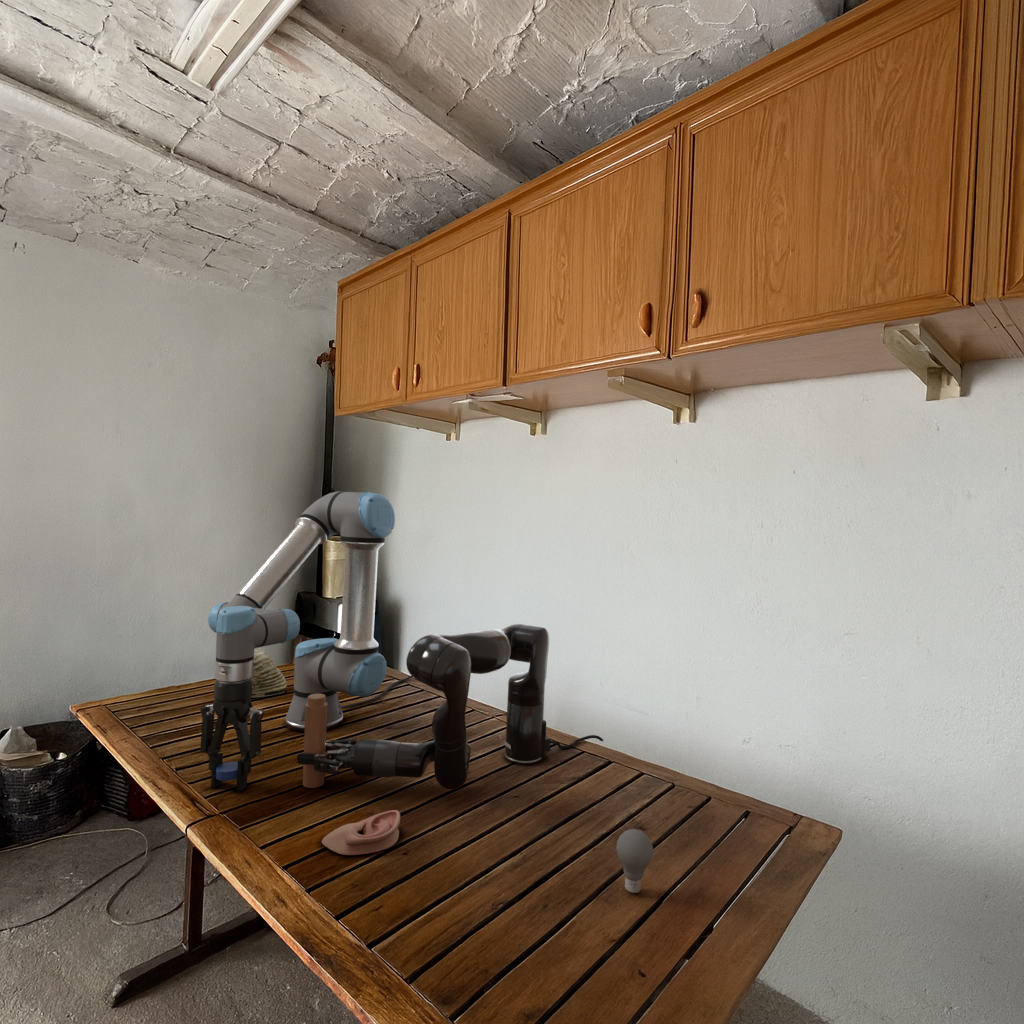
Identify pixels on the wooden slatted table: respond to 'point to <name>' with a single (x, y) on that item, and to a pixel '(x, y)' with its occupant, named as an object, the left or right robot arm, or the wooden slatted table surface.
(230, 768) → the lid
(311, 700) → the brown tube
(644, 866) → the light bulb
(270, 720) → the wooden slatted table surface
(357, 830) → the anatomical model
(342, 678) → the left robot arm
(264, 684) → the fossil
